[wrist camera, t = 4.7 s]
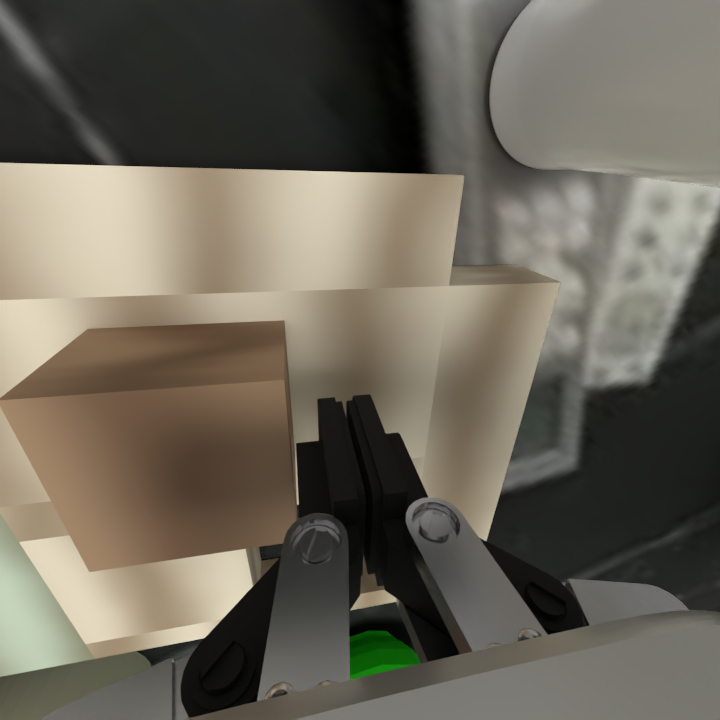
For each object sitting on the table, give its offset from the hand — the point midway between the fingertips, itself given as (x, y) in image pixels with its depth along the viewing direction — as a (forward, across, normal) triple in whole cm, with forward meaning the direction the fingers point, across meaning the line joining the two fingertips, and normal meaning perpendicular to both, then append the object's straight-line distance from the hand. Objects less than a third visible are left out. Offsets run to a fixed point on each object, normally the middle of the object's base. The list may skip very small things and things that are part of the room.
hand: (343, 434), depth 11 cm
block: (+3, +5, 0) cm, 5 cm away
